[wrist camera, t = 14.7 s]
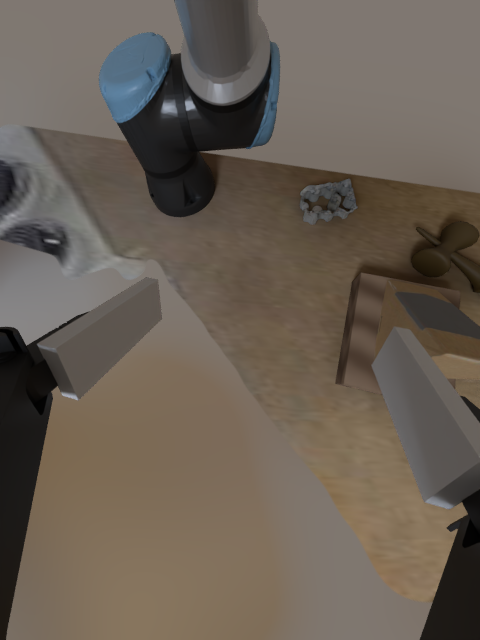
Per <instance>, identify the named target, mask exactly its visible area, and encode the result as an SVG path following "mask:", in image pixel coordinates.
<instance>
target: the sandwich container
mask: <svg viewBox="0 0 480 640" xmlns="http://www.w3.org/2000/svg"><path fill="white" fill-rule="evenodd" d="M394 326H395V327H400V328H405V329H410V330H411V331H412V333H413V334H414V335H415V337H416V338H417V339H418V341H419V342H420V343H421V345H422V346H423V347H424V349H425V350H426V352H427V353H428V354H429V356H430V357H431V358H432V360H433V361H434V362H435V364H436V365H437V366H438V368H439V369H440V370H441V372H442V373H443V374H444V376H445V377H446V378H447V379H480V327H479V326H478V325H477V324H476V323H475V322H473V321H472V320H471V319H470V318H469V317H467V316H466V315H465V314H464V313H463V312H461V311H460V310H459V309H458V308H457V307H456V306H454V305H453V304H452V303H451V302H450V301H449V300H447V299H446V298H445V297H444V296H443V295H442V294H441V293H440V292H439V291H437V290H435V289H431V288H427V287H423V286H419V285H415V284H410V283H405V282H399V281H394V280H387V284H386V289H385V294H384V298H383V303H382V308H381V313H380V321H379V327H378V333H377V337H376V346H375V354H374V360H375V358H376V357H377V355H378V353H379V351H380V350H381V348H382V346H383V345H384V343H385V341H386V339H387V338H388V336H389V334H390V332H391V331H392V329H393V327H394Z"/></svg>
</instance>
